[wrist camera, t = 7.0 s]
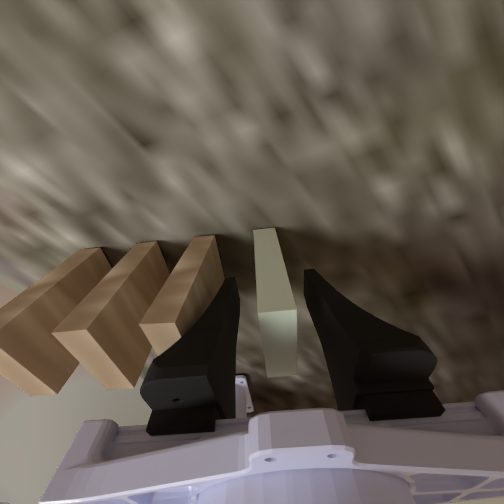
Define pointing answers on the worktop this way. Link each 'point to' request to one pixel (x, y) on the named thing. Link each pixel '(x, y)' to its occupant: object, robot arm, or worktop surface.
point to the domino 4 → (275, 306)
